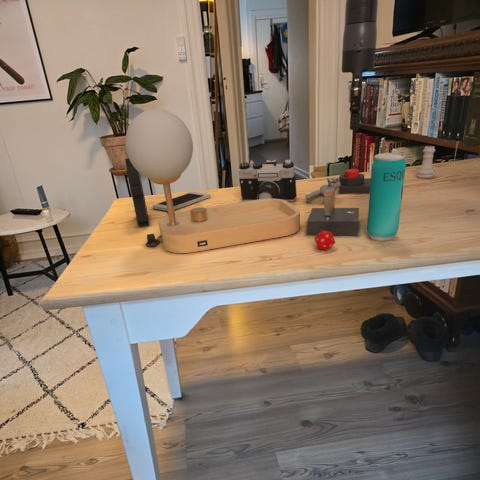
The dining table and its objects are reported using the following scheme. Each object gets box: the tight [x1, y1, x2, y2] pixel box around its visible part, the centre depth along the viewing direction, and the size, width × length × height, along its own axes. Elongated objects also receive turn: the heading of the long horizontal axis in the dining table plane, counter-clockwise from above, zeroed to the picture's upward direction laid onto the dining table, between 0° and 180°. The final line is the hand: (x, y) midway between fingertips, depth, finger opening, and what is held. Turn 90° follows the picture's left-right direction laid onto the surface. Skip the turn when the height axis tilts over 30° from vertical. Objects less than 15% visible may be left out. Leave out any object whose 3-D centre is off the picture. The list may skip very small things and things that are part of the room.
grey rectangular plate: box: [323, 187, 336, 217], centre depth 85 cm, size 6×1×5 cm, turn 162°
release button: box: [344, 168, 360, 178], centre depth 110 cm, size 4×4×2 cm
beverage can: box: [366, 152, 407, 242], centre depth 76 cm, size 6×6×15 cm
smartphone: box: [152, 191, 211, 212], centre depth 113 cm, size 7×15×1 cm, turn 139°
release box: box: [338, 172, 371, 194], centre depth 110 cm, size 10×9×4 cm
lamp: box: [124, 108, 301, 254], centre depth 83 cm, size 33×17×25 cm, turn 105°
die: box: [313, 230, 336, 252], centre depth 76 cm, size 4×4×4 cm
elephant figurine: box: [304, 176, 341, 204], centre depth 102 cm, size 10×6×9 cm
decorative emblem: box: [124, 157, 150, 228], centre depth 98 cm, size 12×2×15 cm, turn 13°
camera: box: [237, 159, 297, 202], centre depth 104 cm, size 15×11×10 cm
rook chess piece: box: [416, 145, 436, 179], centre depth 114 cm, size 4×4×8 cm
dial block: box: [304, 207, 360, 237], centre depth 86 cm, size 11×11×3 cm
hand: (354, 128), depth 104 cm, fingers closed
